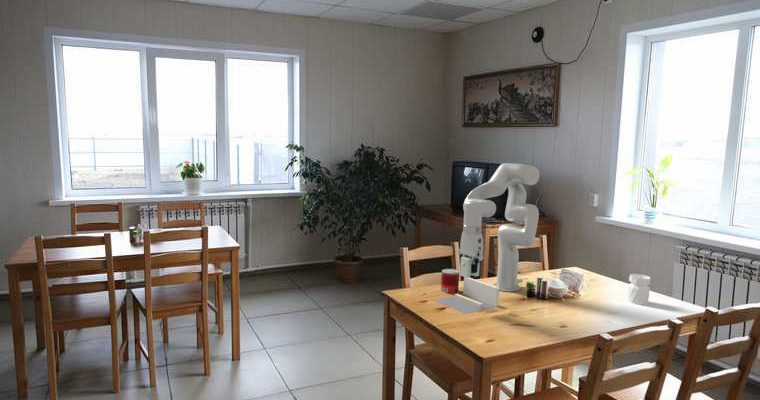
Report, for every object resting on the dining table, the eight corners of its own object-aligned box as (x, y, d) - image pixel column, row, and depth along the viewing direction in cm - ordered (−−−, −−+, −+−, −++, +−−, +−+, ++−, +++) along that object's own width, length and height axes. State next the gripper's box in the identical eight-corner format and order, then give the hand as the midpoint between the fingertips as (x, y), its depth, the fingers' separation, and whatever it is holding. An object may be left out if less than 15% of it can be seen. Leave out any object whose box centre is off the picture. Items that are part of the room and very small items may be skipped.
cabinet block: (471, 273, 229) (472, 255, 228) (478, 275, 226) (480, 257, 225) (458, 275, 225) (459, 257, 224) (466, 278, 222) (467, 259, 221)
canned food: (459, 296, 240) (460, 273, 239) (441, 296, 240) (442, 272, 239) (457, 291, 248) (458, 269, 246) (440, 291, 248) (441, 268, 246)
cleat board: (465, 296, 240) (466, 276, 239) (498, 309, 224) (499, 288, 223) (433, 303, 230) (434, 282, 228) (465, 317, 213) (466, 294, 212)
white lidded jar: (646, 306, 234) (648, 280, 233) (625, 302, 240) (627, 276, 238) (649, 301, 241) (652, 276, 240) (629, 297, 247) (631, 272, 245)
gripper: (492, 232, 218) (490, 274, 221) (464, 225, 232) (462, 266, 234) (480, 233, 214) (477, 277, 216) (452, 227, 228) (450, 267, 230)
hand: (469, 270), depth 225 cm, fingers closed on cabinet block, 4 cm apart
